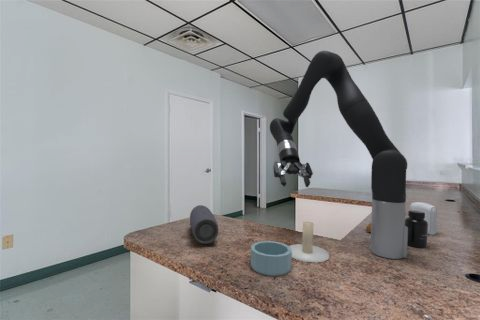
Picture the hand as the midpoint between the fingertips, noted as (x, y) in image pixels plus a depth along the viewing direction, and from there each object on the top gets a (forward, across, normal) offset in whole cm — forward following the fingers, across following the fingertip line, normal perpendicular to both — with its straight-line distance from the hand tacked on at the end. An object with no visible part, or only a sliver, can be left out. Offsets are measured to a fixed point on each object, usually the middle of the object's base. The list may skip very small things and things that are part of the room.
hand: (296, 185), depth 88 cm
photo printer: (+7, +60, +21) cm, 64 cm away
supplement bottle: (+18, +43, +10) cm, 48 cm away
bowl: (+28, -13, 0) cm, 31 cm away
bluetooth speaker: (+10, -33, +19) cm, 40 cm away
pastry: (+7, +39, +22) cm, 45 cm away
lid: (+23, 0, +6) cm, 23 cm away
